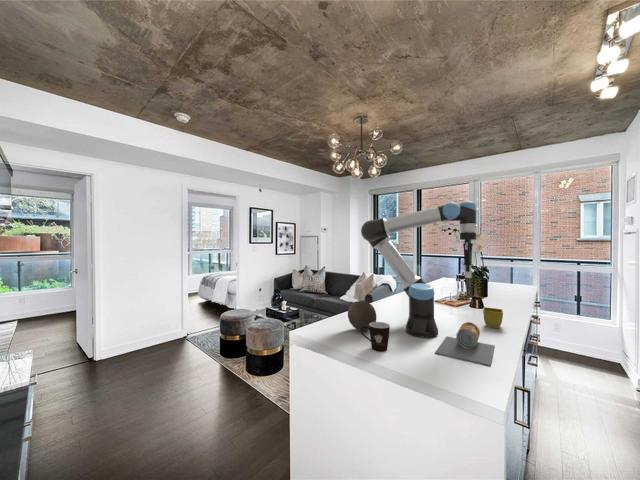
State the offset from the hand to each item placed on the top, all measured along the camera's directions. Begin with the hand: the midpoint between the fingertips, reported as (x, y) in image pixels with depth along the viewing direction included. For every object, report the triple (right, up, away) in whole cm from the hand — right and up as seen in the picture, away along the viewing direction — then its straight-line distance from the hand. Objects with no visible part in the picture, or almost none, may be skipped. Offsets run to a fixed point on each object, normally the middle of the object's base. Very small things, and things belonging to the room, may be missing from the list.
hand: (468, 277), depth 140 cm
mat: (-16, -26, -27) cm, 41 cm away
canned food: (-8, -22, -17) cm, 29 cm away
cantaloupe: (-55, -27, -3) cm, 61 cm away
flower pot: (+15, -27, +4) cm, 31 cm away
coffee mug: (-53, -26, -25) cm, 64 cm away
